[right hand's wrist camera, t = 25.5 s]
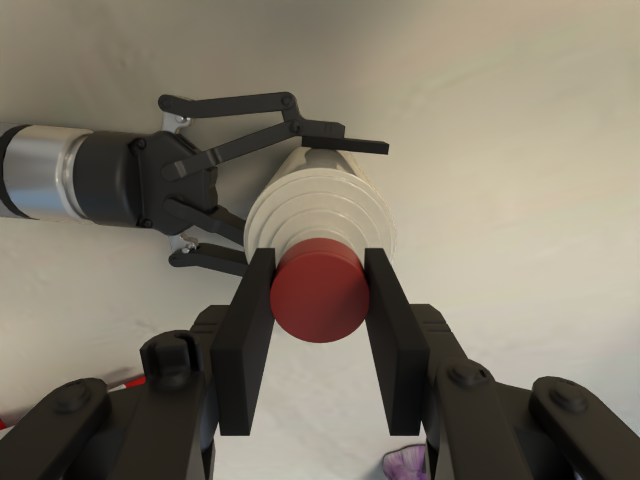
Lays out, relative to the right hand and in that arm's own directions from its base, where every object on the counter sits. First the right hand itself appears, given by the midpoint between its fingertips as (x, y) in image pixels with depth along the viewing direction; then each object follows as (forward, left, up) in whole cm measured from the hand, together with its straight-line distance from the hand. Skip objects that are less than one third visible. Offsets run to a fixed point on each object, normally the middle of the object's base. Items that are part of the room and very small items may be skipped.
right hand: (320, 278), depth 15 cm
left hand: (-2, +4, -15) cm, 16 cm away
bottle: (0, 0, -21) cm, 21 cm away
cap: (0, 0, +2) cm, 2 cm away
